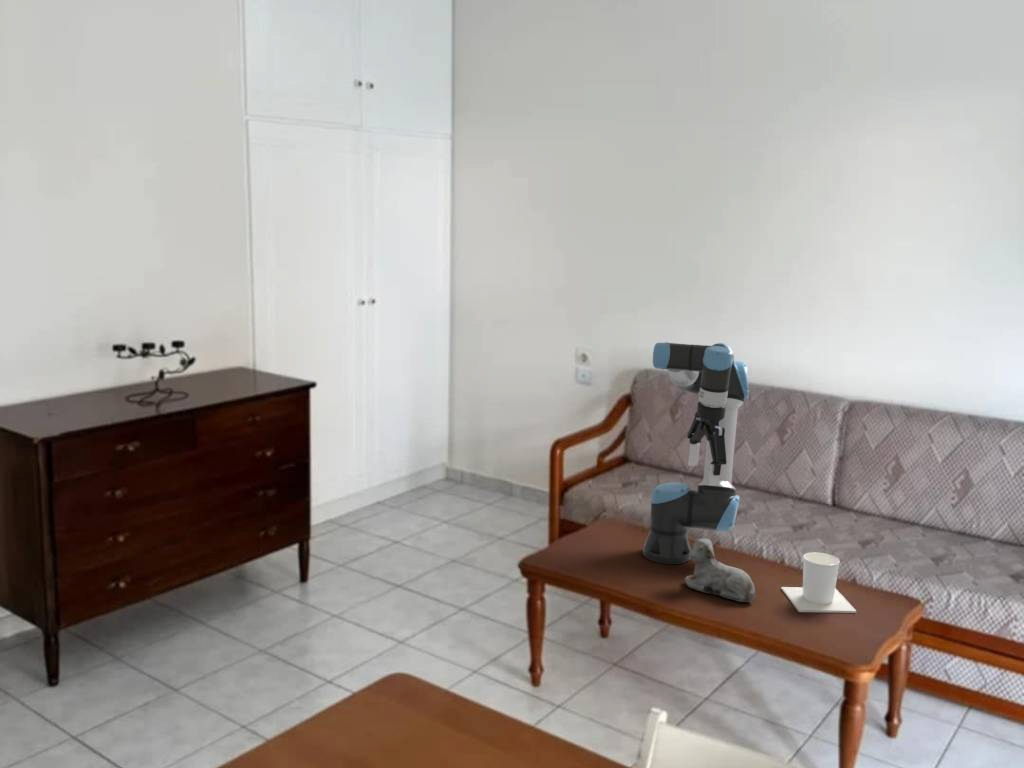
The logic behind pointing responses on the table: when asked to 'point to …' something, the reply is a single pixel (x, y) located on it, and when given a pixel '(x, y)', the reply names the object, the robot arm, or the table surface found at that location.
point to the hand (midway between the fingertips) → (702, 475)
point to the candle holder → (819, 577)
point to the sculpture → (718, 575)
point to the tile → (803, 605)
